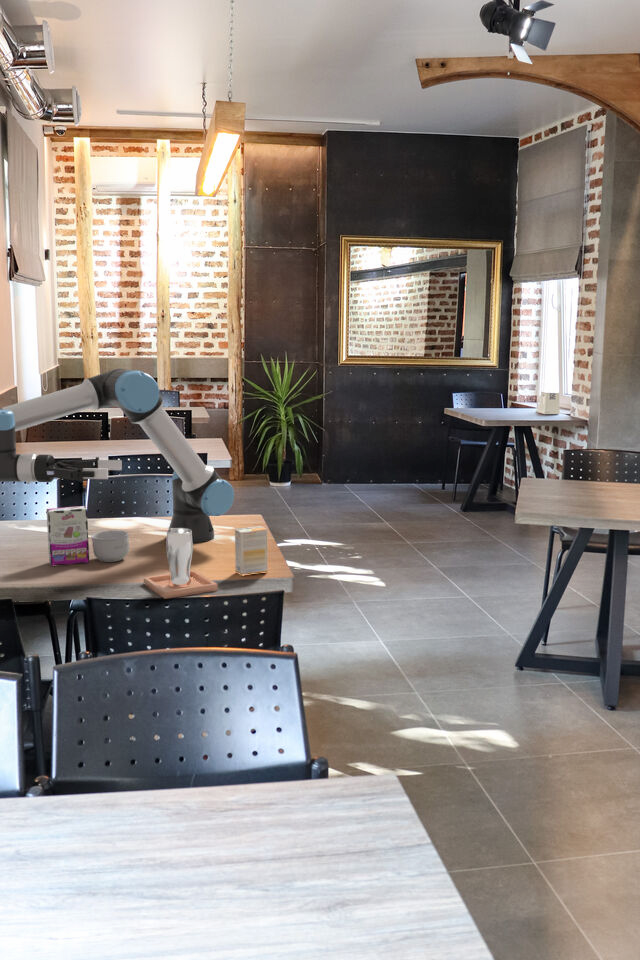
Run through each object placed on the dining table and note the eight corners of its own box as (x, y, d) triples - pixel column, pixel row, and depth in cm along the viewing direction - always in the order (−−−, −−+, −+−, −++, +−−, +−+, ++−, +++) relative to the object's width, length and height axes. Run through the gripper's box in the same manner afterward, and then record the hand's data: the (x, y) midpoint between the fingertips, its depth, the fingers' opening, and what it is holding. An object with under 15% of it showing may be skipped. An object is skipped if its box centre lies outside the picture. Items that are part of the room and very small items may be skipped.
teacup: (120, 565, 263) (119, 539, 262) (85, 563, 265) (84, 536, 264) (139, 553, 276) (138, 528, 275) (106, 551, 278) (105, 526, 277)
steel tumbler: (171, 589, 238) (170, 534, 236) (163, 583, 244) (162, 529, 242) (196, 586, 241) (196, 532, 239) (188, 580, 247) (187, 526, 245)
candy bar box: (86, 559, 269) (85, 505, 266) (89, 563, 265) (88, 508, 262) (48, 562, 265) (45, 507, 262) (50, 566, 260) (48, 511, 257)
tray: (194, 576, 253) (194, 570, 253) (217, 590, 240) (217, 584, 240) (143, 583, 245) (143, 577, 245) (164, 598, 233) (164, 592, 232)
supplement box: (261, 569, 261) (261, 525, 259) (267, 573, 257) (268, 529, 255) (234, 572, 258) (234, 528, 255) (240, 577, 253) (240, 531, 251)
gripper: (53, 473, 258) (127, 474, 257) (21, 490, 234) (101, 492, 232) (52, 447, 257) (126, 448, 256) (19, 462, 232) (100, 463, 231)
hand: (114, 469), depth 244 cm, fingers open, 13 cm apart
